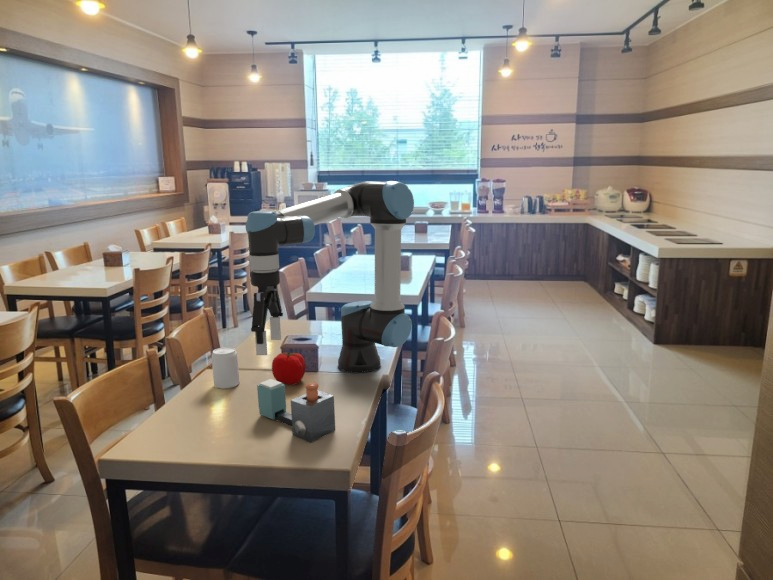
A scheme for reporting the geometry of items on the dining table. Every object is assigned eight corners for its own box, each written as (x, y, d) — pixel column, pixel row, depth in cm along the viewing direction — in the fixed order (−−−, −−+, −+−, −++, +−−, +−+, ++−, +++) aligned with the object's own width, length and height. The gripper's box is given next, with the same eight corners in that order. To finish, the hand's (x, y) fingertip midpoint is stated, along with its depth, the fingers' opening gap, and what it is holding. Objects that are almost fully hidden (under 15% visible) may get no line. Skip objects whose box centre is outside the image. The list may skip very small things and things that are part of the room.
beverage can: (244, 383, 186) (242, 348, 183) (227, 391, 179) (224, 355, 176) (226, 379, 190) (223, 345, 187) (208, 387, 183) (205, 352, 180)
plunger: (313, 401, 151) (312, 381, 150) (321, 404, 149) (320, 384, 147) (303, 405, 148) (302, 385, 147) (312, 408, 146) (311, 388, 145)
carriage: (272, 408, 164) (270, 378, 162) (286, 413, 161) (284, 382, 159) (259, 414, 161) (257, 383, 159) (272, 419, 157) (270, 388, 155)
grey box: (317, 423, 156) (315, 389, 154) (335, 430, 151) (333, 395, 149) (291, 435, 149) (289, 400, 146) (309, 443, 144) (307, 407, 142)
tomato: (285, 391, 178) (283, 360, 176) (265, 380, 188) (263, 351, 186) (315, 382, 186) (313, 352, 183) (294, 372, 195) (292, 344, 193)
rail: (268, 411, 164) (268, 405, 163) (308, 427, 153) (308, 420, 153) (261, 414, 162) (261, 407, 162) (301, 430, 151) (301, 423, 151)
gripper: (264, 262, 161) (268, 333, 165) (234, 279, 136) (240, 361, 141) (290, 262, 160) (293, 334, 165) (265, 279, 136) (269, 362, 140)
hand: (269, 347), depth 153 cm, fingers open, 13 cm apart
